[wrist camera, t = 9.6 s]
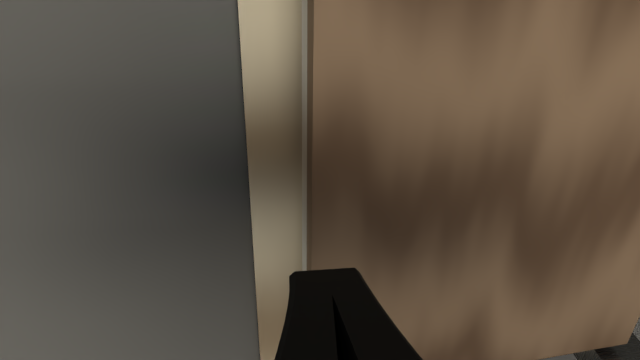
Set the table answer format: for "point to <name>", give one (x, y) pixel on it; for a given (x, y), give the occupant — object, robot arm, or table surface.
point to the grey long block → (613, 352)
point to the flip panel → (478, 168)
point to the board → (273, 153)
